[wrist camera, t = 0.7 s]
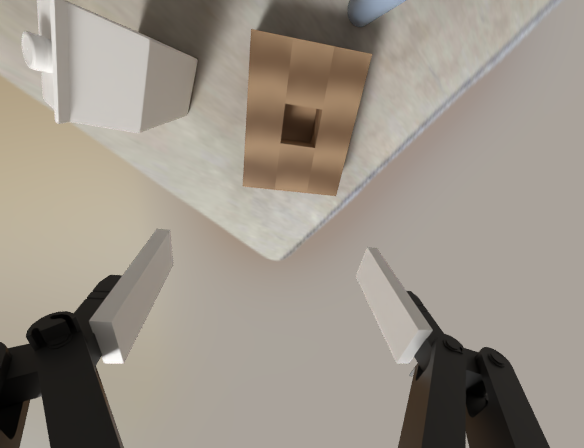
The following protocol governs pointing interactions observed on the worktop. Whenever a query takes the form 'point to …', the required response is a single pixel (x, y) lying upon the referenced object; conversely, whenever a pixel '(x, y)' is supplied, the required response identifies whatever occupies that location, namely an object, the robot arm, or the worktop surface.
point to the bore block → (300, 112)
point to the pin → (369, 10)
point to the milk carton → (106, 70)
